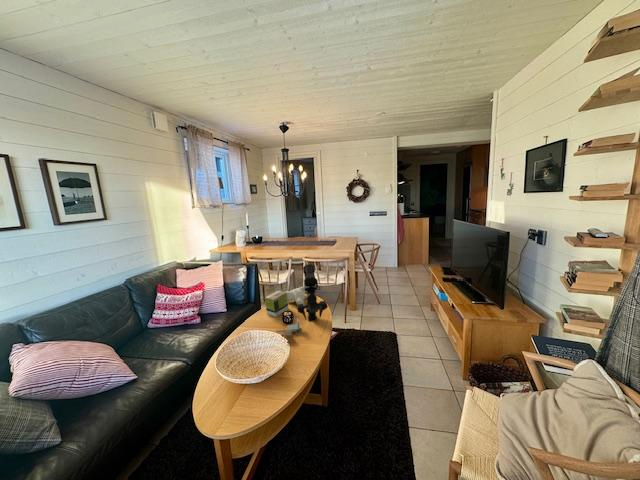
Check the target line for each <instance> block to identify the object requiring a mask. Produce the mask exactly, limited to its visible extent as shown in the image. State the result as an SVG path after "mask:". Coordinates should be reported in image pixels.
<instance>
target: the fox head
mask: <svg viewBox="0 0 640 480" xmlns="http://www.w3.org/2000/svg"><path fill="white" fill-rule="evenodd" d="M305 287H306V286H300V287H298V288H294V289H292V290H287V291H285V292H287V298H288V303H290V302H292V301H294V302H295V303H296V304H297V305H298V304H303V306H305V299H307V294H305V293H307V292H306V291H305ZM306 288H307V287H306Z"/></svg>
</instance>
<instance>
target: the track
mask: <svg viewBox="0 0 640 480" xmlns="http://www.w3.org/2000/svg"><path fill="white" fill-rule="evenodd" d="M299 328H300V330H301V331H300V330H299V332H297V331H291V334H292V335H294V334H295V335H296V334H301V333H303V331H302V327H299ZM272 331H273V332H277V333H279V334H281V335H283V336H284V331H287V329H280V330H278V329H277V330H272Z"/></svg>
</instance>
